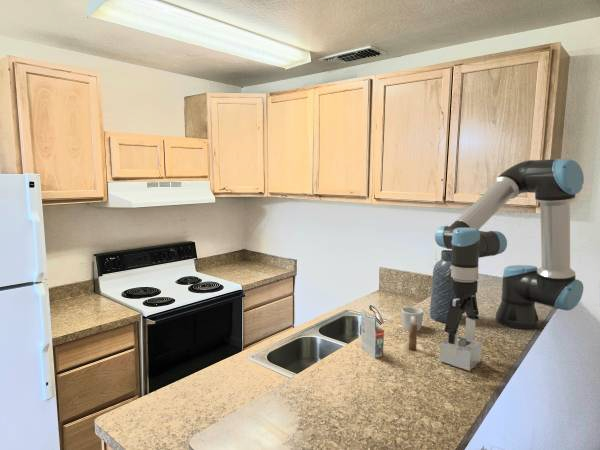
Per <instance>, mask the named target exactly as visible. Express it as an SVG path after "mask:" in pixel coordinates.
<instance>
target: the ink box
mask: <svg viewBox="0 0 600 450" xmlns="http://www.w3.org/2000/svg"><path fill="white" fill-rule="evenodd" d="M368 316H369V317H368ZM370 317H371V318H370ZM360 326H361V327H360V328H361V329H360V330H361V331H360V333H361V334H360V339H361V340H360V349H361V350H362V351H363V352H365V353H366V354H368V355H370V356H371V357H373V358H374V359H379V358H382V357H384V344H385V343H384V339H385V330H384V329H383V328H381V327H379V326H378V325H377V316H375V315H373V314H371V313H369V312H367V311H366V310H364V309H361V324H360Z"/></svg>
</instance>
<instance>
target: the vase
mask: <svg viewBox="0 0 600 450" xmlns="http://www.w3.org/2000/svg"><path fill="white" fill-rule="evenodd" d="M440 255H441V256H440V259H439V260H438V261H436V263H435V264H434V267H433V271H432V278H431V279H432V280H431V281H432V282H431V291H430V302H429V303H430V304H429V306H430V307H429V317H430V318H431V319H433V320H435V321H437V322H440V323H446V321H447V316H448V312H449V307H450V299H455V295H456V294H455V293H454V292H452V291H451V289H450V286H451V279H452V277H451V269H450V266H451V261H452V249H448V250H447V249H445V250H444V249H443V250H441V254H440Z"/></svg>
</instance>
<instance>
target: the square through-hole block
mask: <svg viewBox="0 0 600 450" xmlns="http://www.w3.org/2000/svg"><path fill="white" fill-rule="evenodd" d="M458 337H463V338H465V339H466V347H465V346H462V345H459V344H458V351H457V355H455V354H452V353H449V352H447V347H448V337H446V338H445V339H443V340H442V341H441V342H440V353H439V361H441V362H442V363H445V364H448V365H450V364H451V365H450V366H452V365H454V366H453V367H455V366H457V367H456V368H458V367H460V369H462V370H466V371H469V372H470V371H471V370H472V369H473V368H474V367H476V366H477V365H478V364H479V363H480V362H481V360H482V349H483V348H482V346H483V345H482V344H483V342H482V341H480V340H476V339H474V340H473V339H469V338H466V337H465V336H462V335H459V334H458Z"/></svg>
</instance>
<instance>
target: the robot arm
mask: <svg viewBox="0 0 600 450" xmlns="http://www.w3.org/2000/svg"><path fill="white" fill-rule="evenodd" d="M584 178H585V177H584V171H583V169H582V167H581V165H580V164H579V162H578V161H576V160H574V159H571V158H568V159H566V158H551V159H536V160H535V159H530V160H525V161H521V162H519V163H516V164H514V165H512V166H511V167H509V168H508V169H506V170H504V171H503V172H502V173H500V175H498V176H497V177H496V178H495V179H494V180H493V182H492V186H491V187H489V188H488V189H487V190H486V191H485V192H484V193H483V194H482V195H481V196H480V197H479V198H478V199H477V200H476V201H475V202H473V204H471V205H470V206H469V208H467V210H465V211H464V212H463V213H462V214H461V215H460V216H459V217H458V218H457V219H456V220H454V221H453V222H452V223H451V224H450V225H442V226H439V227H438V228H437V229H436V231H435V234H434V240H435V243H436V245H438V247H441V248H445V249H446V250H447V249H448V250H451V251H452V261H451V266H450V269H451V277H452V279H451V286H450V289H451V291H452V292H454V293H455V294H456V295H455V299H450V307H449V312H448V316H447V321H446V322H445V325H444V326H445V327H444V332H445V333H447V338H448V347H447V352H449V353H452V354H455V355H457V351H458V335H459V333H458V330H459V326H460V323H461V320H462V316H463V315H464V314H466V316H467V317H466V318H465V334H464V335H465V336H464V337H466V338H469V339H473V340H476V320H479V319H480V316H479V313H480V312H479V308H478V307H479V306H478V302H477V296H476V295H477V293H478V286H479V285H478V283H479V282H478V279H479V261H480V260H479V259H480V258H486V257H487V258H488V257H492V256H497V255H501V254H503V253H504V252H505V251H506V249H507V247H508V240H507V237H506V236H505V234H504V233H502V232H501V231H497V230H489V231H483V230H480V229H481V228H482V227H483V226H484V225H485V224H486V223H488V221H489V220H490V219H491V218H492V217H494V216H495V214H497V212H498V211H500V209H502V207H503V206H504V205H505V204H507V202H508V201H509V200H513V199H515V198H517V197H518V196H519V195H520V194H525V193H534V197H535V201H537V202H538V203H539V204H540V206H539V207H540V244H541V245H540V246H541V247H540V250H541V253H540V254H541V256H540V257H541V267H540V268H538V267H537V266H535V265H526V264H525V265H523V264H522V265H521V264H519V265H517V264H515V265H508V266H506V267H504V269H503V274H502V285H501V287H502V288H501V302H500V304H499V306H498V308H497V310H496V312H495V320H496V322H497V323H499V324H501V325H503V326H507V327H509V328H513V329H514V328H515V329H521V330H534V329H537V328H538V327H539V323H540V322H539V321H540V320H539V316H538V312H537V308H536V306H535V305H536V303H537V304H540V305H544V306H547V307H550V308H554V309H556V310H562V311H571V310H573V309H574V308H575V307H577V306H578V304H579V302H580V301H581V300H582V296H583V294H584V284H583V282H582V281H581V280H579V279H576V272H575V270H573V268H571V202H572V201H574V199H576V194H579V193H580V192H581V191H582V189H583V185H584V183H585V182H584V180H585V179H584Z"/></svg>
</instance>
